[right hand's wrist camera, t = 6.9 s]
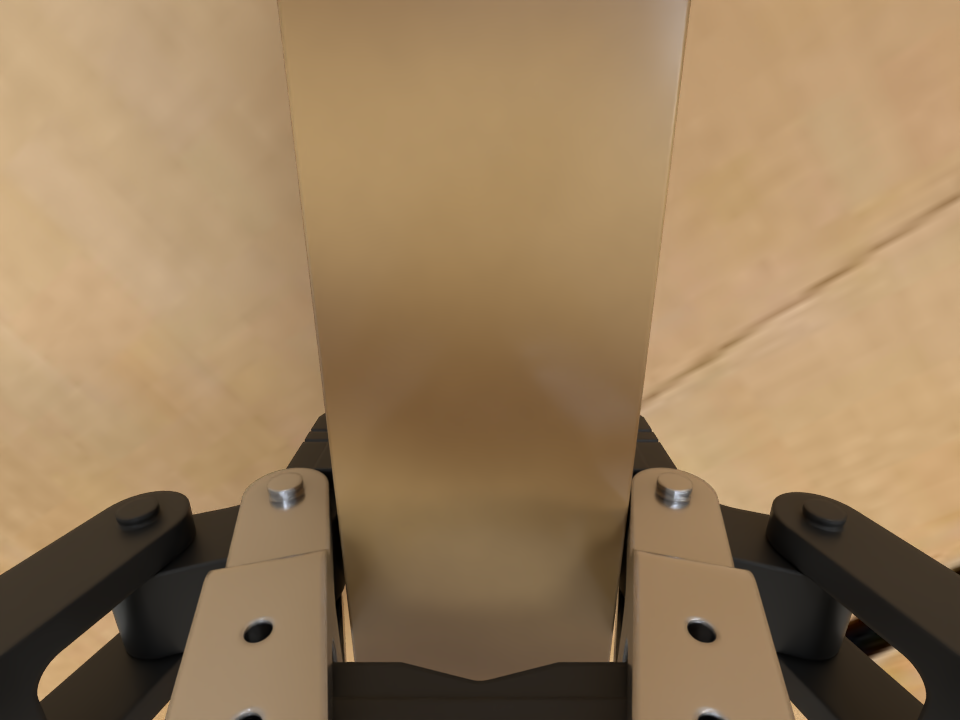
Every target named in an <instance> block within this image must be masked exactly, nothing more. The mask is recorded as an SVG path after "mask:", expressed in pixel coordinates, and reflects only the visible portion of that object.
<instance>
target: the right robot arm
mask: <svg viewBox="0 0 960 720" xmlns="http://www.w3.org/2000/svg"><path fill="white" fill-rule="evenodd" d="M344 586H345V575H344V567H343V558H342V550H341V541H340V533H339V524H338V516H337V507H336V498H335V490H334V481H333V473H332V464H331V456H330V447H329V439H328V430H327V422H326V413H325V414H323V415H322V416H320V417H319V418H318V420H317V421H316V423H315V424H314V426H313V427H312V429H311V432H309V434H308V435H307V437H306V438H305V442H303V443H302V445H301V446H300V448H299V449H298V451H297V453H296V454H295V456H294V457H293V459H292V460H291V462H290V464H289V465H288V467H287V468H286V469H283V470H279V471H276V472H273V473H270V474H267V475H265V476H263V477H261V478H259V479H258V480H256V481H255V482H253V483H252V484H251V485H250V486H249V487H248V488H247V489H246V490H245V492H244V494H243V496H242V500H241V504H240V505H238V506H234V507H230V508H225V509H220V510H215V511H210V512H205V513H200V514H194V515H192V511H191V507H190V503H189V500H188V498H187V497H186V496H185V495H183V494H181V493H178V492H173V491H155V492H149V493H144V494H140V495H137V496H133V497H130V498H128V499H125V500H123V501H120V502H118V503H116V504H114V505H112V506H111V507H109V508H107V509H106V510H104V511H102V512H101V513H99V514H98V515H96V516H94V517H93V518H91V519H90V520H88V521H86V522H85V523H83V524H82V525H80V526H78V527H77V528H75V529H74V530H72V531H70V532H69V533H67V534H66V535H64V536H62V537H61V538H59V539H58V540H56V541H54V542H53V543H51V544H50V545H48V546H46V547H45V548H43V549H42V550H40V551H38V552H37V553H35V554H34V555H32V556H30V557H29V558H27V559H26V560H24V561H22V562H21V563H19V564H18V565H16V566H14V567H13V568H11V569H10V570H8V571H6V572H5V573H3V574H2V575H0V720H152V719H153V718H154V717H155V716H156V715H157V714H158V713H159V712H160V710H161V709H162V708H163V707H164V706H165V705H166V704H167V703H168V702H169V701H170V703H169V706H168V710H167V713H166V717H165V720H795V717H794V713H793V710H792V706H791V703H790V700H791V702H792V703H793V704H794V705H795V706H796V707H797V708H798V709H799V710H800V712H801V713H802V714H803V715H804V716H805V717H806V718H807V719H808V720H960V575H958V574H957V573H955V572H954V571H952V570H950V569H949V568H947V567H946V566H944V565H942V564H941V563H939V562H938V561H936V560H934V559H933V558H931V557H930V556H928V555H926V554H925V553H923V552H922V551H920V550H918V549H917V548H915V547H914V546H912V545H910V544H909V543H907V542H906V541H904V540H902V539H901V538H899V537H898V536H896V535H894V534H893V533H891V532H890V531H888V530H886V529H885V528H883V527H882V526H880V525H878V524H877V523H875V522H874V521H872V520H870V519H869V518H867V517H866V516H864V515H862V514H861V513H859V512H858V511H856V510H854V509H853V508H851V507H849V506H847V505H845V504H843V503H841V502H839V501H836V500H833V499H831V498H828V497H824V496H821V495H816V494H811V493H803V492H791V493H785V494H782V495H780V496H778V497H776V498H775V499H774V501H773V504H772V508H771V512H770V515H767V514H761V513H756V512H751V511H746V510H741V509H736V508H732V507H728V506H724V505H721V504H719V500H718V497H717V494H716V492H715V491H714V489H713V488H712V487H711V486H710V485H709V484H708V483H707V482H705V481H704V480H702V479H701V478H699V477H697V476H695V475H693V474H690V473H687V472H684V471H681V470H677V468H676V466H675V465H674V463H673V462H672V460H671V459H670V457H669V456H668V454H667V453H666V451H665V450H664V448H663V446H662V445H661V443H660V442H658V439H657V437H656V436H655V434H654V433H653V432H652V429H651V428H650V426H649V425H648V423H647V422H646V420H645V419H644V417H642V416H641V415H640V418H639V426H638V434H637V442H636V450H635V458H634V466H633V474H632V482H631V490H630V498H629V507H628V515H627V523H626V531H625V539H624V547H623V555H622V563H621V571H620V579H619V588H618V596H617V604H616V621H615V642H614V662H557V663H553V664H549V665H545V666H541V667H537V668H533V669H529V670H525V671H521V672H517V673H513V674H509V675H505V676H501V677H497V678H493V679H489V680H484V681H476V680H471V679H467V678H463V677H459V676H455V675H451V674H447V673H443V672H439V671H435V670H431V669H427V668H423V667H419V666H415V665H411V664H407V663H403V662H346V643H345V623H344V604H343V596H342V592H343V589H344ZM111 610H112V611H113V614H114V617H115V620H116V623H117V626H118V629H119V632H120V633H118V634H117V635H116V636H115V637H114V638H113V639H112V640H110V641H109V642H108V643H107V644H106V645H105V646H103V647H102V648H101V649H100V650H99V651H98V652H97V653H95V654H94V655H93V656H92V657H91V658H90V659H89V660H87V661H86V662H85V663H84V664H83V665H82V666H81V667H79V668H78V669H77V670H76V671H75V672H74V673H73V674H71V675H70V676H69V677H68V678H67V679H66V680H65V681H63V682H62V683H61V684H60V685H59V686H58V687H56V688H55V689H54V690H53V691H52V692H51V693H50V694H48V695H47V696H46V697H45V698H44V699H43V700H42V701H40V702H39V700H38V696H37V689H38V684H39V681H40V678H41V676H42V674H43V672H44V671H45V669H46V667H47V666H48V665H49V663H50V662H51V661H52V660H53V659H54V658H55V656H57V655H58V654H59V653H60V652H61V651H62V650H63V649H65V648H66V647H67V646H68V645H70V644H71V643H72V642H73V641H74V640H76V639H77V638H78V637H79V636H81V635H82V634H83V633H84V632H85V631H87V630H88V629H89V628H90V627H92V626H93V625H94V624H95V623H96V622H98V621H99V620H100V619H101V618H103V617H104V616H105V615H106V614H107V613H109V612H110V611H111ZM852 613H853V614H854V615H855V616H856V617H857V618H859V619H860V620H861V621H862V622H864V623H865V624H866V625H867V626H868V627H870V628H871V629H872V630H873V631H875V632H876V633H877V634H878V635H879V636H881V637H882V638H883V639H884V640H886V641H887V642H888V643H889V644H890V645H892V646H893V647H894V648H895V649H897V650H898V651H899V652H900V653H901V654H903V655H904V656H905V657H906V658H907V659H908V660H909V661H910V662H911V663H912V664H913V666H914V667H915V668H916V670H917V671H918V673H919V674H920V676H921V678H922V680H923V682H924V685H925V689H926V701H925V703H924V705H923V704H922V703H921V702H920V701H918V700H917V699H916V698H915V697H914V696H913V695H912V694H910V693H909V692H908V691H907V690H906V689H905V688H904V687H902V686H901V685H900V684H899V683H898V682H897V681H896V680H894V679H893V678H892V677H891V676H890V675H889V674H887V673H886V672H885V671H884V670H883V669H882V668H881V667H879V666H878V665H877V664H876V663H875V662H874V661H873V660H871V659H870V658H869V657H868V656H867V655H866V654H865V653H863V652H862V651H861V650H860V649H859V648H858V647H857V646H855V645H854V644H853V643H852V642H851V641H850V640H848V639H847V638H846V637H845V636H844V635H845V632H846V629H847V626H848V624H849V621H850V618H851V615H852Z"/></svg>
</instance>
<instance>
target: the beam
mask: <svg viewBox="0 0 960 720" xmlns="http://www.w3.org/2000/svg"><path fill="white" fill-rule="evenodd" d="M277 3H278V12H279V20H280V29H281V37H282V46H283V55H284V63H285V72H286V80H287V89H288V97H289V106H290V114H291V123H292V131H293V140H294V148H295V157H296V166H297V174H298V183H299V191H300V200H301V208H302V217H303V225H304V234H305V242H306V251H307V259H308V268H309V277H310V285H311V294H312V302H313V311H314V319H315V328H316V336H317V345H318V353H319V362H320V370H321V379H322V387H323V396H324V405H325V413H326V422H327V430H328V439H329V447H330V456H331V464H332V473H333V481H334V490H335V498H336V507H337V516H338V524H339V533H340V541H341V550H342V558H343V567H344V575H345V584H346V592H347V601H348V609H349V618H350V627H351V635H352V644H353V652H354V661H355V662H403V663H407V664H411V665H415V666H419V667H423V668H427V669H431V670H435V671H439V672H443V673H447V674H451V675H455V676H459V677H463V678H467V679H471V680H476V681H484V680H489V679H493V678H497V677H501V676H505V675H509V674H513V673H517V672H521V671H525V670H529V669H533V668H537V667H541V666H545V665H549V664H553V663H557V662H609V660H610V652H611V644H612V636H613V628H614V620H615V612H616V604H617V595H618V587H619V579H620V571H621V563H622V555H623V547H624V539H625V531H626V523H627V515H628V507H629V498H630V490H631V482H632V474H633V466H634V458H635V450H636V442H637V434H638V426H639V418H640V410H641V401H642V393H643V385H644V377H645V369H646V361H647V353H648V345H649V337H650V329H651V321H652V313H653V304H654V296H655V288H656V280H657V272H658V264H659V256H660V248H661V240H662V232H663V224H664V216H665V207H666V199H667V191H668V183H669V175H670V167H671V159H672V151H673V143H674V135H675V127H676V119H677V111H678V102H679V94H680V86H681V78H682V70H683V62H684V54H685V46H686V38H687V30H688V22H689V14H690V5H691V0H277Z"/></svg>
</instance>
